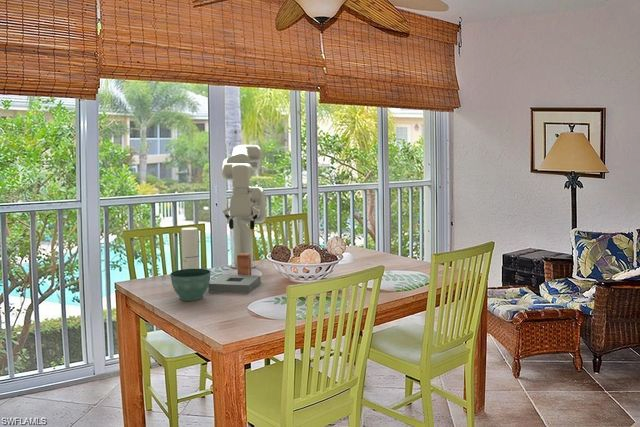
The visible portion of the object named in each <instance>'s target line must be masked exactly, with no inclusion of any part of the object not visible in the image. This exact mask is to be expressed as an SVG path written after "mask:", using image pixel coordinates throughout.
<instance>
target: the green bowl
mask: <svg viewBox="0 0 640 427" xmlns="http://www.w3.org/2000/svg"><path fill="white" fill-rule="evenodd" d="M211 272H212V271H211V270H210V269H207V268H199V269H183V268H182V269H178V270H174V271H172V272H170V279H171V280H170V281H171V284H172V287H173V290H174V292H175V293H176V294H177V295H178V297H179V300H181V301H184V302H185V301H187V302H189V301H198V300H201V299H203V298H204V295H205V293H206V292H207V290H208V286H209V283H210V282H211V274H212V273H211Z"/></svg>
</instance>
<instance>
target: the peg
mask: <svg viewBox="0 0 640 427" xmlns="http://www.w3.org/2000/svg"><path fill="white" fill-rule="evenodd" d="M237 265H238V269H237V275H252V268H251V253H240V254H238V255H237Z"/></svg>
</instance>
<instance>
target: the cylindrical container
mask: <svg viewBox="0 0 640 427" xmlns="http://www.w3.org/2000/svg"><path fill="white" fill-rule="evenodd" d="M180 232H181V257H182V258H181V259H182V260H181V261H182V269H200V267H199V266H200V262H199V231H198V227H195V226H192V227H191V226H190V227H182V228H181V229H180Z"/></svg>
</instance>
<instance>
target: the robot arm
mask: <svg viewBox="0 0 640 427" xmlns="http://www.w3.org/2000/svg"><path fill="white" fill-rule="evenodd" d="M222 162H223V163H222V169H221V174H222V178H223V179H225V180H226V181H227V180H228V181H229V180H230V181H231V180H232V181H231V182H232V194H231V196H230V202H229V207H227V208H225V209H224V210H223V211H222V212H223V214H224V217H225V218H226V219H227V220H228V227H229V230H232V233H233V234H232V235H233V236H232V238H233V241H232V242H233V263H231V264H230V267H231V268H232V269H237V270H238V265H237V255H238V254H240V253H251V269H253V268H255V267H256V266H257V263H255V262H254V261H253V260H254V259H253V258H254V256H253V255H254V252H253V251H254V250H253V231H252V230H254V228H255V227H256V225H255V224H261V223H264V222H265V221H266V220H267V219H266V218H267V208H266V206H267V205H266V193H265V189H264V188H262V187H261V186H251V180H250V179H251V178H252V177H253V176H254V171H255V172H256V171H260V170H261V169H262V166H263V152H262V148H261V147H260V146H259V145H257V144H240V145H236V146H235V147H233V150H232V155H231V156H229V157H227V158H225V159H224V160H223V161H222ZM228 212H229V214H228ZM248 224H249V225H248Z"/></svg>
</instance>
